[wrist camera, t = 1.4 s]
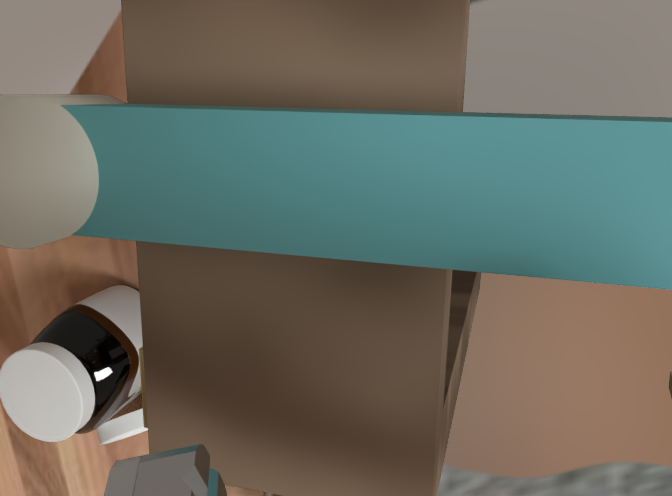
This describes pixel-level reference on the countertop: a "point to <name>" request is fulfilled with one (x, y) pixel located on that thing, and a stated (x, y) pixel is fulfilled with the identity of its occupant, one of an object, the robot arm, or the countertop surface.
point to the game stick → (347, 184)
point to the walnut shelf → (301, 261)
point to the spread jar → (79, 371)
